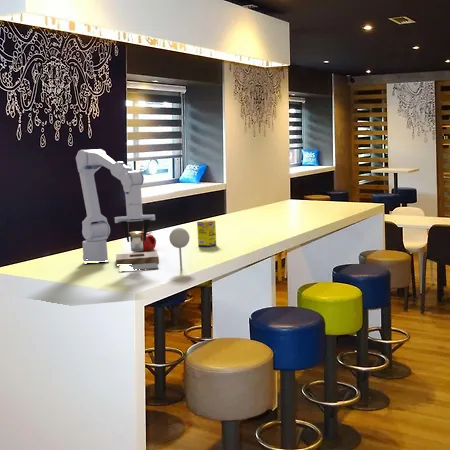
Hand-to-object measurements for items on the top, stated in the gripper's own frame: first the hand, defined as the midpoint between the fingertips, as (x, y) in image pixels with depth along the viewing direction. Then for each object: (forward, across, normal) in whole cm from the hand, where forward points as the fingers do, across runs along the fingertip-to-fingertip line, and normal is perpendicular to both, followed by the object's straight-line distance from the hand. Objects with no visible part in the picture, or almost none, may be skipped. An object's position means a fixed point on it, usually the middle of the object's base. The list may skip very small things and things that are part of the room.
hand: (136, 241), depth 224 cm
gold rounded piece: (+3, 0, 0) cm, 3 cm away
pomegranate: (+10, +4, +39) cm, 41 cm away
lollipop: (+10, +15, -9) cm, 20 cm away
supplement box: (+10, +31, +38) cm, 50 cm away
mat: (+10, 0, 0) cm, 10 cm away
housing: (+10, 0, +13) cm, 16 cm away
